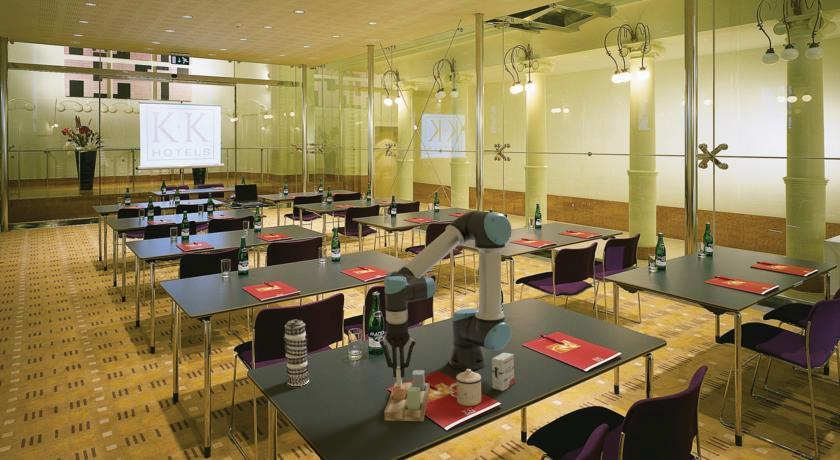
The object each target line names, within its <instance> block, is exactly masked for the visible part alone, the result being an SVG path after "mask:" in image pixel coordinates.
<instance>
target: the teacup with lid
mask: <svg viewBox="0 0 840 460" xmlns="http://www.w3.org/2000/svg"><path fill="white" fill-rule="evenodd" d="M455 380H456V382H454V383H451V384H450V385H449V388H448V392H449V394H450V395H451V396H452V397H453V398H456V401H457V403H458V404H460V405H462V406H465V407H467V406H468V407H471V406H477V405H479V404H480V403H481V402H482V380H483V379H482V376H481V374H479V373H478V372H474V371H473V370H471V369H466V370H464V371H463V372H460V373H458V374H456V377H455ZM454 387H456V394H453V392H452V389H453V388H454Z"/></svg>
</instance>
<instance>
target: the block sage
mask: <svg viewBox="0 0 840 460" xmlns="http://www.w3.org/2000/svg"><path fill="white" fill-rule="evenodd" d="M420 405H421V400H420V387H408V390H407V406H408V410H419V409H420Z"/></svg>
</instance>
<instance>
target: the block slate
mask: <svg viewBox="0 0 840 460" xmlns="http://www.w3.org/2000/svg"><path fill="white" fill-rule="evenodd" d="M411 376H412V383H413V387H420V391H424V388H425V383H426V380H425V379H426V377H425V370H423V369H414V370H413V371H412V374H411Z"/></svg>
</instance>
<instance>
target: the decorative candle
mask: <svg viewBox="0 0 840 460" xmlns="http://www.w3.org/2000/svg"><path fill="white" fill-rule="evenodd" d="M284 331H285V332H284V335H283V343H284V353H285V357H286V367H285V369H286V373H287V374H286V378H287V379H286V382H287V385H288V384H289V385H291V386H301V387H303V386H302V385H305V384H307V383H308V382H309V383H310V376H309V374H310V373H309V370H310V369H309V364H308V359H307V355H308V349H309V348H308V347H307V346H308V345H309V344H308V338H306V337H307V336H309V334H308V333H306V322H304V321H303V320H301V319H297V318H296V319H291V320H288V321H287V322H286V324H285V325H284ZM309 383H308V384H309ZM308 384H307V385H308ZM291 386H290V387H291ZM305 386H306V385H305Z"/></svg>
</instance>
